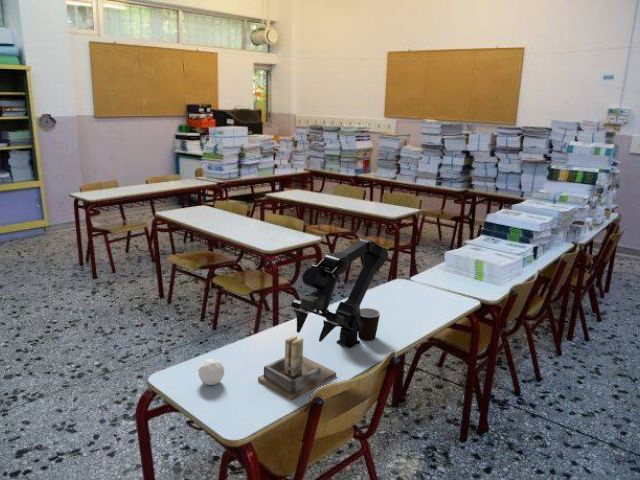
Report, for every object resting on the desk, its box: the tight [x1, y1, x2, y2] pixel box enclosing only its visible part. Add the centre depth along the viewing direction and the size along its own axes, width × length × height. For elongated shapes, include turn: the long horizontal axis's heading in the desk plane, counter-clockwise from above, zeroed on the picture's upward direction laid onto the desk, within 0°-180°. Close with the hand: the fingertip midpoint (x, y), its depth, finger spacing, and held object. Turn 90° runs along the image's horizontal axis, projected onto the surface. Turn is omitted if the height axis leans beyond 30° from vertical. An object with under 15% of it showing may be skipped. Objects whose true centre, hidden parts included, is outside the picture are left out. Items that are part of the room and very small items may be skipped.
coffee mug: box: [357, 307, 381, 342], centre depth 193 cm, size 12×9×10 cm
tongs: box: [284, 334, 304, 380], centre depth 159 cm, size 5×4×13 cm
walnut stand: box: [257, 355, 337, 401], centre depth 162 cm, size 20×15×5 cm
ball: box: [197, 358, 225, 386], centre depth 157 cm, size 8×8×8 cm
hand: (308, 337), depth 168 cm, fingers open, 9 cm apart
